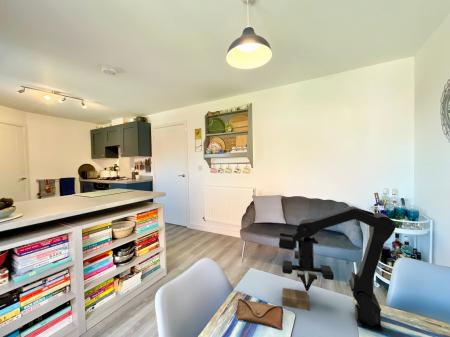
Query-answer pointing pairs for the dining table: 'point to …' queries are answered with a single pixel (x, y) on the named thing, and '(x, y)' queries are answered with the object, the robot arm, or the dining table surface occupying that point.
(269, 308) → the sunglasses case
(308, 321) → the dining table surface
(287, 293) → the walnut block
